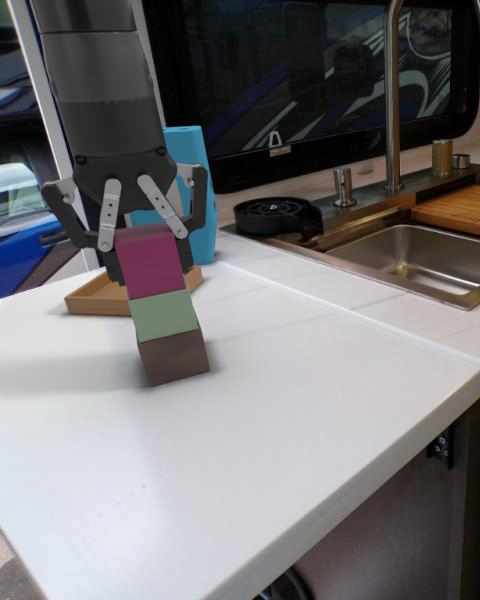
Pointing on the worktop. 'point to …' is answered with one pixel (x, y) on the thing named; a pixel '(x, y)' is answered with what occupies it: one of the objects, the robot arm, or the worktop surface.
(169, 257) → the mulberry block
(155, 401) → the worktop surface
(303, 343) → the worktop surface
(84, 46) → the robot arm
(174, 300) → the sage block
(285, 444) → the worktop surface
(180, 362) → the walnut block
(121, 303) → the tray
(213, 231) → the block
